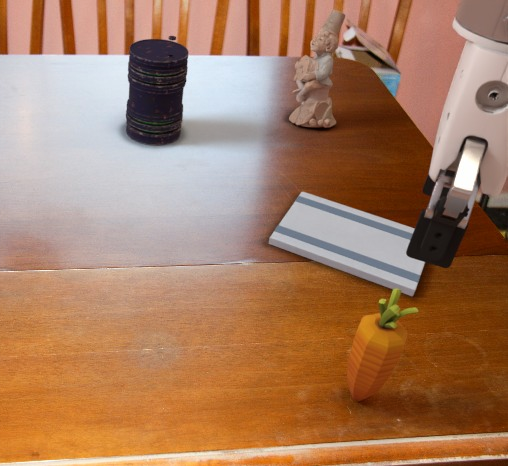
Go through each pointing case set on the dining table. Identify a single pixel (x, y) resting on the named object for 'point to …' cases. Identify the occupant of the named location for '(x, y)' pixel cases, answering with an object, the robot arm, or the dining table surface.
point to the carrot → (376, 348)
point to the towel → (349, 242)
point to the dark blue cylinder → (156, 90)
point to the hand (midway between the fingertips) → (434, 226)
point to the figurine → (317, 77)
